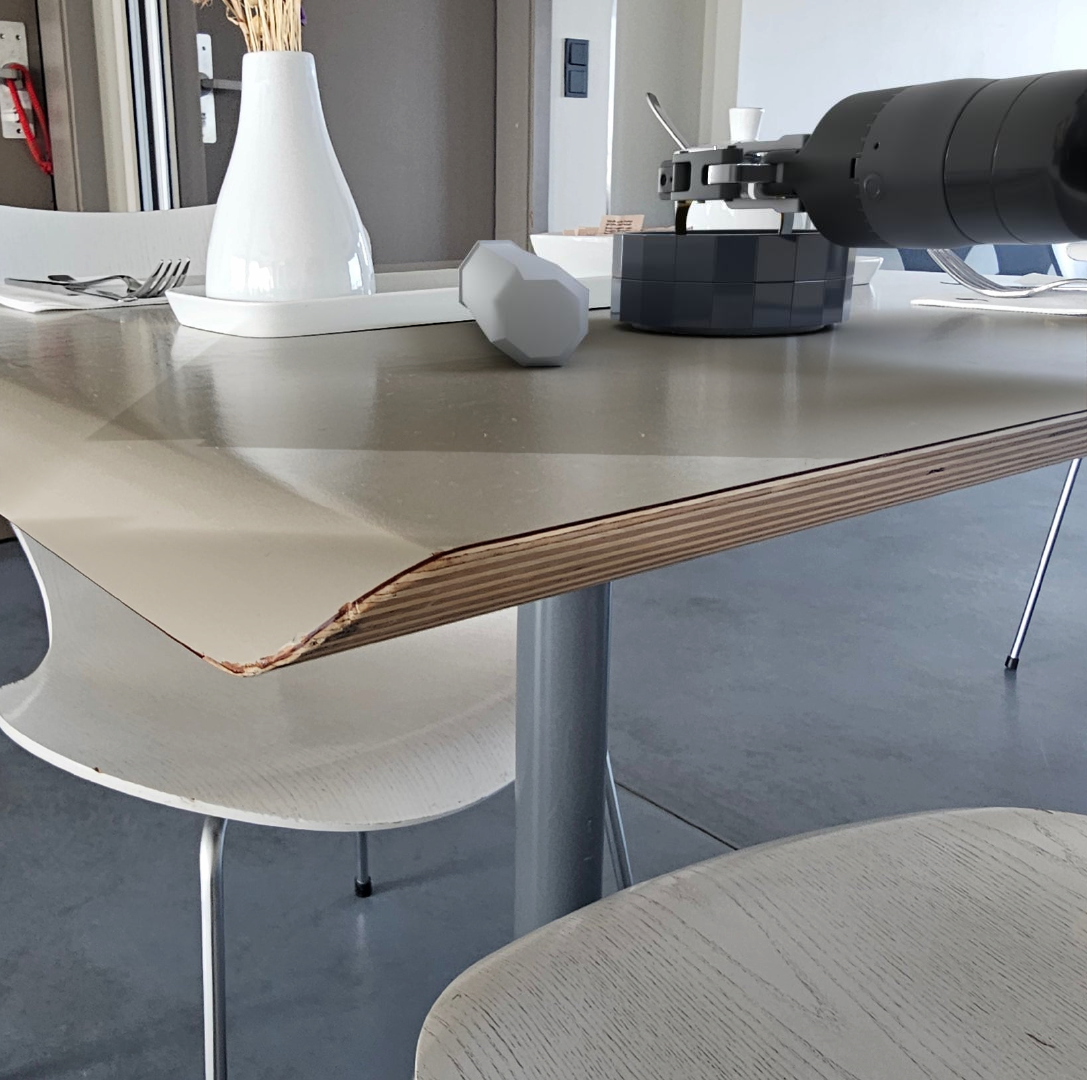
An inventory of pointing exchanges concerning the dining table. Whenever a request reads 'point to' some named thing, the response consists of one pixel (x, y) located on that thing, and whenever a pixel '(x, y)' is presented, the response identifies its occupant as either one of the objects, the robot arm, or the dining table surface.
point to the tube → (524, 302)
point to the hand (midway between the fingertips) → (712, 180)
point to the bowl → (730, 281)
